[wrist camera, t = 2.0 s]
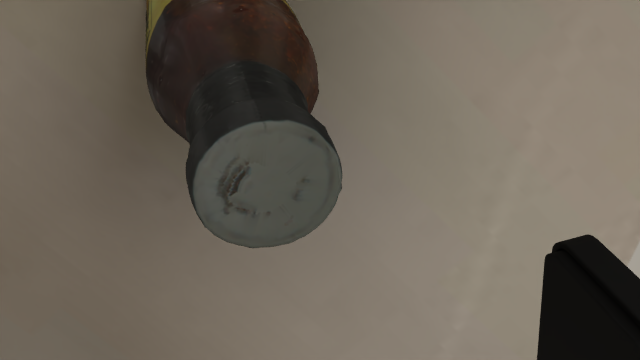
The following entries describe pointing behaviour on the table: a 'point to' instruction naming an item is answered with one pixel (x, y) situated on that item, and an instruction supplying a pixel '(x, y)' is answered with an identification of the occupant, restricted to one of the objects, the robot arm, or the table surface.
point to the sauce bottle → (244, 116)
